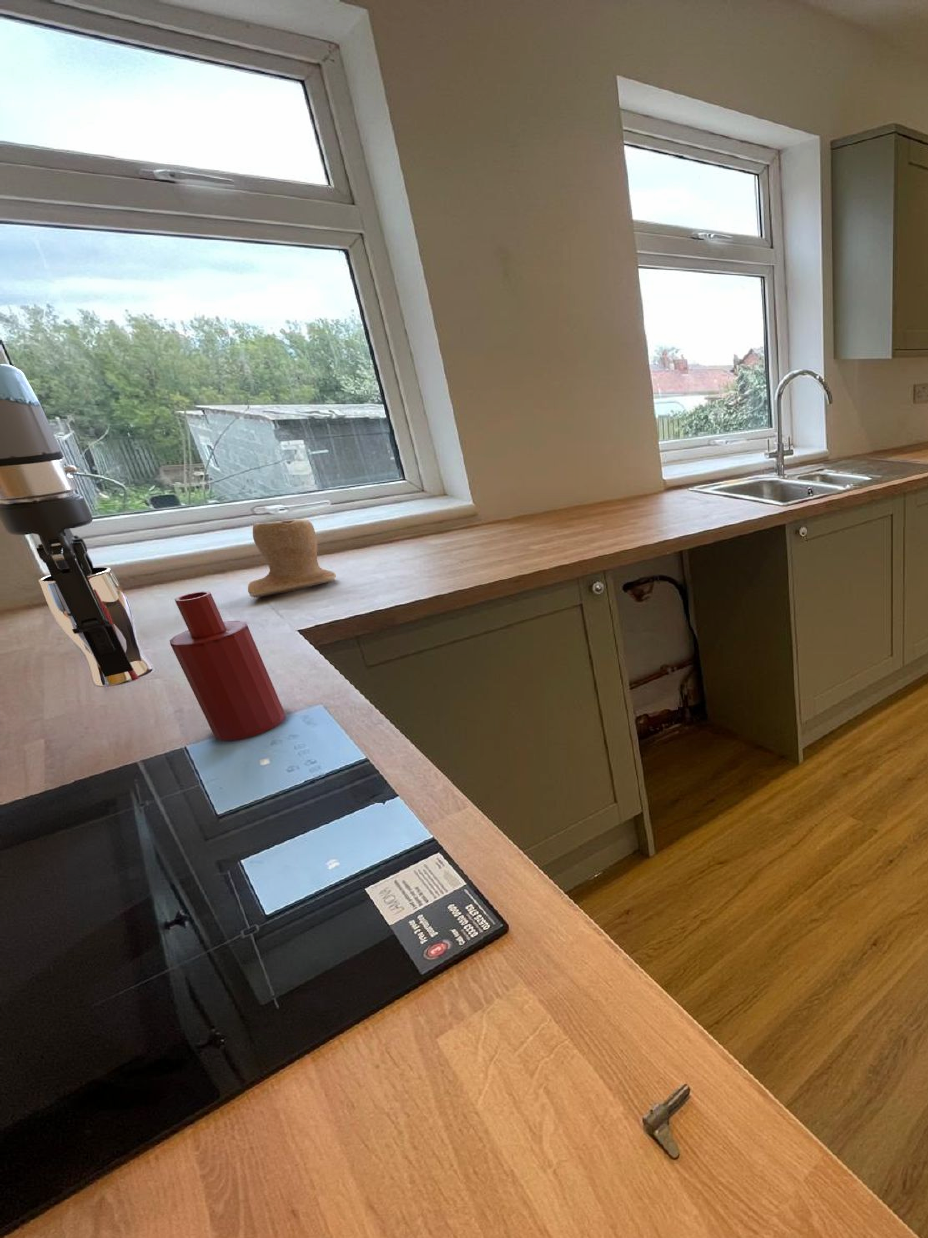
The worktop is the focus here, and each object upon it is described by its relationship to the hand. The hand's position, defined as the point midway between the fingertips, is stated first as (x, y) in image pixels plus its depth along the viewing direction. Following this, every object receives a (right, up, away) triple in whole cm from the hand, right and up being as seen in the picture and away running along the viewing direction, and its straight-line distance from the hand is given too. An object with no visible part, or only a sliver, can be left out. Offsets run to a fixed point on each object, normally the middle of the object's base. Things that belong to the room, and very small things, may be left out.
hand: (119, 665), depth 92 cm
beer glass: (0, -2, +1) cm, 2 cm away
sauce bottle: (+18, -8, 0) cm, 20 cm away
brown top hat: (-20, +13, +55) cm, 60 cm away
